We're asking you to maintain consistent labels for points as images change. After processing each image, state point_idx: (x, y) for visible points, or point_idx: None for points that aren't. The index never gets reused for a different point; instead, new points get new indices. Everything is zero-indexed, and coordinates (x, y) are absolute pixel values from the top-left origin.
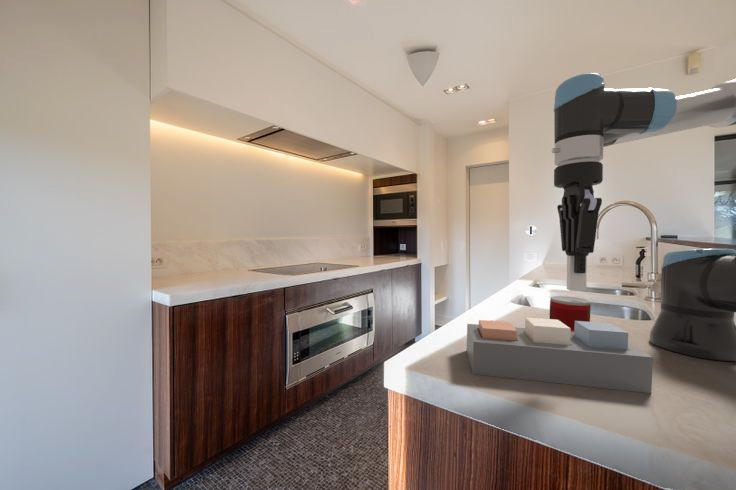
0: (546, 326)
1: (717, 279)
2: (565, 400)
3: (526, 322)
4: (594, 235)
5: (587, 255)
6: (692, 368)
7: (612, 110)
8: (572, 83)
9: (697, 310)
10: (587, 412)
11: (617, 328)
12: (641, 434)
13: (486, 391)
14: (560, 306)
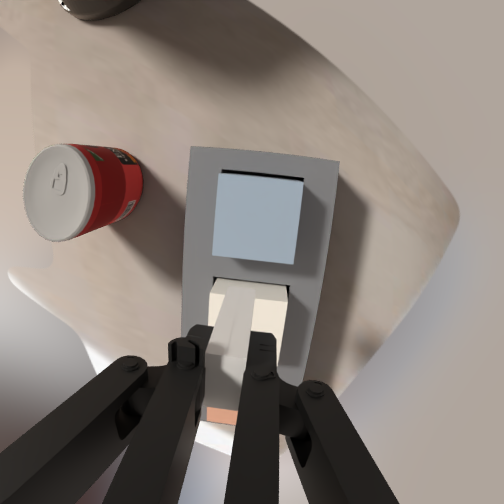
0: (278, 345)
1: None
2: (359, 308)
3: None
4: (363, 450)
5: (270, 369)
6: (206, 19)
7: None
8: None
9: None
10: (386, 295)
11: (269, 184)
12: (425, 260)
13: (338, 391)
14: (87, 229)
